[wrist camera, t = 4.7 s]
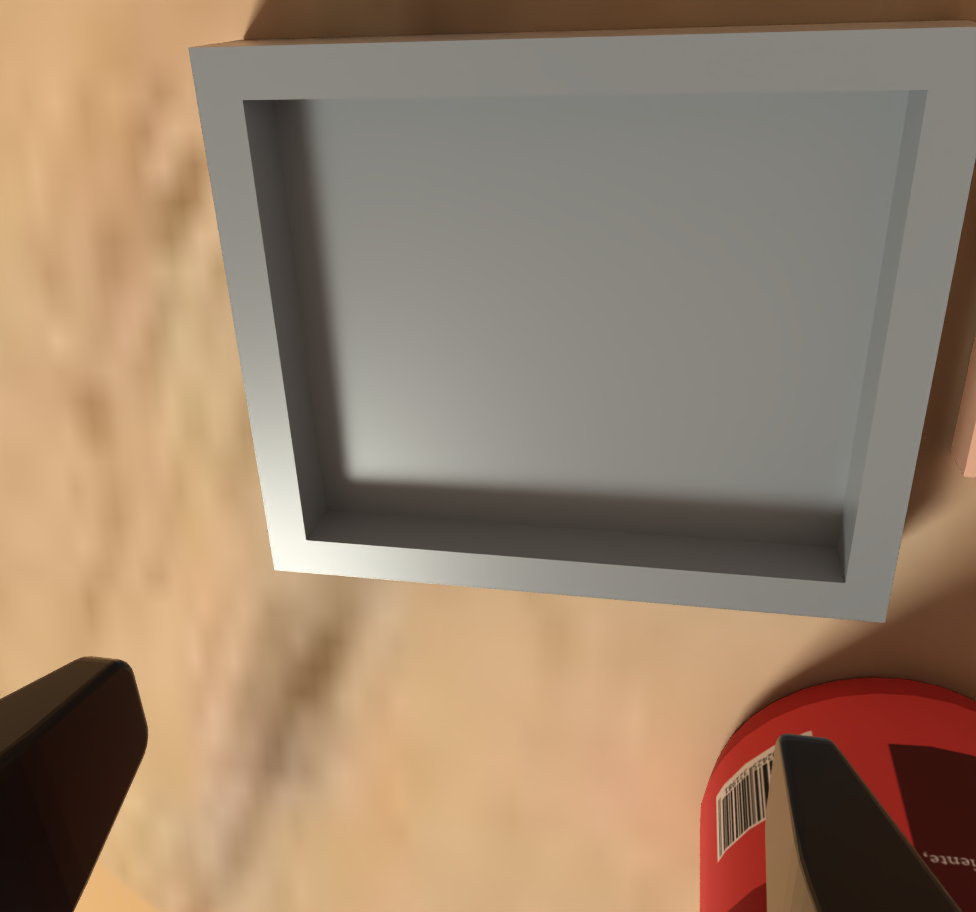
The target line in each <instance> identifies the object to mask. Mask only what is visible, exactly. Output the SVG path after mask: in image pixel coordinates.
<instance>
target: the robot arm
mask: <svg viewBox="0 0 976 912" xmlns="http://www.w3.org/2000/svg"><path fill="white" fill-rule="evenodd" d="M147 741H148V727H147V722H146V718H145V714H144V710H143V707H142V703H141V699H140V695H139V691H138V688H137V684H136V680H135V676H134V673H133V670H132V668H131V667H130V666H129V665H128V664H127V662H124V661H122V660H119V659H111V658H101V657H92V656H90V657H82V658H79V659H77V660H74V661H73V662H71V663H69V664H67V665H65V666H63V667H61V668H59V669H57V670H55V671H53V672H51V673H49V674H48V675H46V676H44V677H42V678H40V679H38V680H36V681H34V682H32V683H30V684H28V685H26V686H25V687H23V688H21V689H19V690H17V691H15V692H13V693H11V694H9V695H7V696H5V697H3V698H1V699H0V912H74V910H75V908H76V905H77V903H78V901H79V899H80V897H81V895H82V893H83V890H84V889H85V887H86V885H87V883H88V880H89V878H90V876H91V874H92V871H93V869H94V867H95V865H96V862H97V860H98V858H99V856H100V853H101V851H102V849H103V847H104V844H105V842H106V840H107V838H108V835H109V833H110V831H111V829H112V826H113V824H114V822H115V820H116V817H117V815H118V813H119V811H120V808H121V806H122V804H123V802H124V799H125V797H126V795H127V793H128V790H129V788H130V786H131V784H132V781H133V779H134V777H135V775H136V772H137V770H138V768H139V766H140V763H141V761H142V759H143V756H144V754H145V750H146V747H147ZM765 847H766V888H767V912H962V911H961V909H960V908H959V907H958V905H957V904H956V903H955V901H954V900H953V899H952V897H951V896H950V895H949V893H948V892H947V891H946V889H945V888H944V887H943V885H942V884H941V883H940V881H939V880H938V879H937V877H936V876H935V875H934V873H933V872H932V871H931V870H930V868H929V867H928V866H927V864H926V863H925V862H924V860H923V859H922V858H921V856H920V855H919V854H918V852H917V851H916V850H915V848H914V847H913V846H912V844H911V843H910V842H909V840H908V839H907V838H906V836H905V835H904V834H903V832H902V831H901V830H900V828H899V827H898V826H897V824H896V823H895V822H894V820H893V819H892V818H891V817H890V815H889V814H888V813H887V811H886V810H885V809H884V807H883V806H882V805H881V803H880V802H879V801H878V799H877V798H876V797H875V795H874V794H873V793H872V791H871V790H870V789H869V787H868V786H867V785H866V783H865V782H864V781H863V779H862V778H861V777H860V775H859V774H858V773H857V771H856V770H855V769H854V768H853V766H852V765H851V764H850V762H849V761H848V760H847V758H846V757H845V756H844V754H843V753H842V752H841V750H840V749H839V748H838V746H837V745H836V744H835V743H834V742H832V741H831V740H830V739H827V738H823V737H814V736H805V735H796V734H783V735H781V736H779V738H778V739H777V741H776V744H775V750H774V757H773V764H772V771H771V778H770V786H769V793H768V800H767V808H766V821H765Z"/></svg>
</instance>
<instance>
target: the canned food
mask: <svg viewBox="0 0 976 912" xmlns="http://www.w3.org/2000/svg"><path fill="white" fill-rule="evenodd" d="M783 734H796V735H805V736H814V737H823V738H827V739H830V740H831V741H832V742H834V743H835V744H836V745H837V746H838V748H839V749H840V750H841V752H842V753H843V754H844V756H845V757H846V758H847V760H848V761H849V762H850V764H851V765H852V766H853V768H854V769H855V770H856V771H857V773H858V774H859V775H860V777H861V778H862V779H863V781H864V782H865V783H866V785H867V786H868V787H869V789H870V790H871V791H872V793H873V794H874V795H875V797H876V798H877V799H878V801H879V802H880V803H881V805H882V806H883V807H884V809H885V810H886V811H887V813H888V814H889V815H890V817H891V818H892V819H893V820H894V822H895V823H896V824H897V826H898V827H899V828H900V830H901V831H902V832H903V834H904V835H905V836H906V838H907V839H908V840H909V842H910V843H911V844H912V846H913V847H914V848H915V850H916V851H917V852H918V854H919V855H920V856H921V858H922V859H923V860H924V862H925V863H926V864H927V866H928V867H929V868H930V870H931V871H932V872H933V873H934V875H935V876H936V877H937V879H938V880H939V881H940V883H941V884H942V885H943V887H944V888H945V889H946V891H947V892H948V893H949V895H950V896H951V897H952V899H953V900H954V901H955V903H956V904H957V905H958V907H959V908H960V909H961V911H962V912H976V701H974V700H972V699H971V698H968V697H966V696H963V695H961V694H958V693H956V692H953V691H950V690H948V689H945V688H943V687H940V686H936V685H931V684H926V683H922V682H917V681H912V680H907V679H893V678H874V677H869V678H858V679H848V680H838V681H833V682H829V683H825V684H821V685H817V686H813V687H809V688H806V689H802V690H800V691H798V692H796V693H793V694H791V695H789V696H786V697H784V698H782V699H780V700H777V701H775V702H773V703H772V704H770V705H769V706H767V707H766V708H764V709H763V710H761V711H760V712H758V713H757V714H755V715H754V716H752V717H751V718H750V719H749V720H748V721H747V722H746V723H745V724H744V725H743V726H742V727H741V728H740V729H739V730H738V731H737V732H736V733H735V734H734V735H733V736H732V737H731V738H730V740H729V741H728V743H727V744H726V746H725V748H724V749H723V751H722V752H721V754H720V756H719V757H718V759H717V762H716V764H715V767H714V769H713V772H712V774H711V777H710V779H709V782H708V785H707V788H706V791H705V794H704V797H703V800H702V803H701V818H700V912H767V888H766V847H765V821H766V808H767V800H768V793H769V786H770V778H771V771H772V764H773V757H774V750H775V744H776V741H777V739H778V738H779V736H781V735H783Z"/></svg>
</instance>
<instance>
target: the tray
mask: <svg viewBox="0 0 976 912" xmlns="http://www.w3.org/2000/svg"><path fill="white" fill-rule="evenodd" d="M188 49H189V55H190V61H191V67H192V73H193V79H194V85H195V91H196V97H197V103H198V109H199V115H200V121H201V127H202V133H203V140H204V146H205V152H206V158H207V164H208V170H209V176H210V182H211V188H212V194H213V200H214V206H215V212H216V218H217V224H218V230H219V236H220V242H221V249H222V255H223V261H224V267H225V273H226V279H227V285H228V291H229V297H230V303H231V309H232V315H233V321H234V327H235V333H236V339H237V345H238V352H239V358H240V364H241V370H242V376H243V382H244V388H245V394H246V400H247V406H248V412H249V418H250V424H251V430H252V436H253V442H254V448H255V454H256V461H257V467H258V473H259V479H260V485H261V491H262V497H263V503H264V509H265V515H266V521H267V527H268V533H269V539H270V545H271V551H272V557H273V564H274V570H280V571H292V572H304V573H315V574H327V575H338V576H350V577H361V578H373V579H384V580H396V581H407V582H419V583H430V584H442V585H453V586H465V587H477V588H488V589H500V590H511V591H523V592H534V593H546V594H557V595H569V596H580V597H592V598H603V599H615V600H627V601H638V602H650V603H661V604H673V605H684V606H696V607H707V608H719V609H730V610H742V611H753V612H765V613H776V614H788V615H800V616H811V617H823V618H834V619H846V620H857V621H869V622H880V623H885V621H886V615H887V610H888V605H889V600H890V595H891V590H892V585H893V580H894V574H895V569H896V564H897V559H898V554H899V549H900V544H901V539H902V533H903V528H904V523H905V518H906V513H907V508H908V503H909V498H910V492H911V487H912V482H913V477H914V472H915V467H916V462H917V457H918V451H919V446H920V441H921V436H922V431H923V426H924V421H925V416H926V410H927V405H928V400H929V395H930V390H931V385H932V380H933V375H934V369H935V364H936V359H937V354H938V349H939V344H940V339H941V334H942V328H943V323H944V318H945V313H946V308H947V303H948V298H949V293H950V287H951V282H952V277H953V272H954V267H955V262H956V257H957V252H958V246H959V241H960V236H961V231H962V226H963V221H964V216H965V211H966V205H967V200H968V195H969V190H970V185H971V180H972V175H973V170H974V164H975V159H976V22H975V21H969V20H935V21H899V22H864V23H828V24H792V25H756V26H721V27H685V28H649V29H613V30H578V31H542V32H506V33H470V34H435V35H399V36H363V37H327V38H292V39H256V40H237V41H231V42H224V43H217V44H210V45H203V46H197V47H190V48H188Z"/></svg>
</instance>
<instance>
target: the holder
mask: <svg viewBox="0 0 976 912" xmlns="http://www.w3.org/2000/svg"><path fill="white" fill-rule="evenodd" d="M950 452H951V454H952V456H953V458H954V460H955V462H956V464H957V465H958V467H959V469H960V471H961V473H962V475H963V477H976V333H975V338H974V342H973V347H972V352H971V357H970V361H969V366H968V371H967V375H966V380H965V385H964V389H963V394H962V399H961V404H960V408H959V413H958V418H957V422H956V427H955V432H954V437H953V441H952V446H951V451H950Z"/></svg>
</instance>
